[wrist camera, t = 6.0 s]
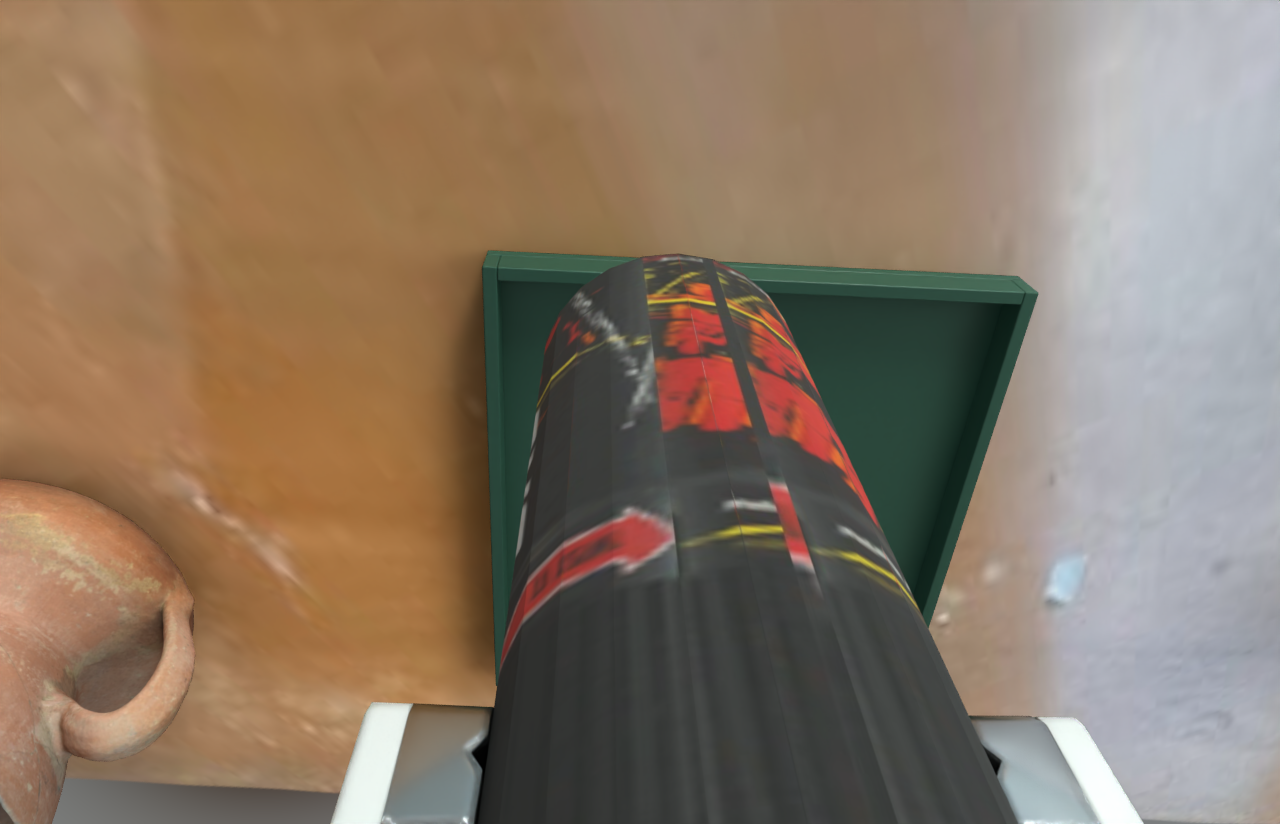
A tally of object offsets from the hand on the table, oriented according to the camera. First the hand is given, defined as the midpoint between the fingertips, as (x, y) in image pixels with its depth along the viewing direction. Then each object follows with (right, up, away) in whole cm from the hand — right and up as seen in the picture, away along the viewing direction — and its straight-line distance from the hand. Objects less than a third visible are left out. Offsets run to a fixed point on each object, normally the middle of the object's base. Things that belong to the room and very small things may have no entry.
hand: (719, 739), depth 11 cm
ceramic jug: (-30, -4, +32) cm, 44 cm away
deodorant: (0, +5, +9) cm, 10 cm away
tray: (+3, 0, +31) cm, 31 cm away
